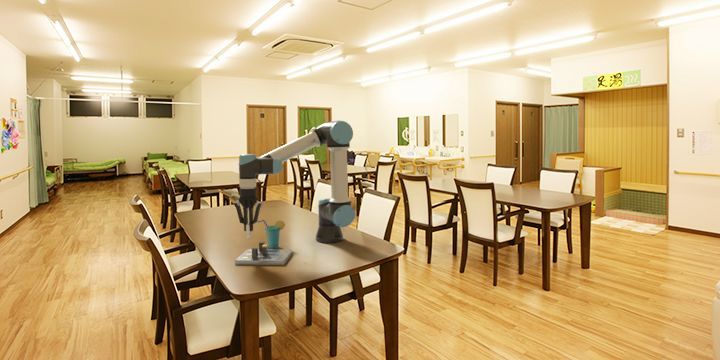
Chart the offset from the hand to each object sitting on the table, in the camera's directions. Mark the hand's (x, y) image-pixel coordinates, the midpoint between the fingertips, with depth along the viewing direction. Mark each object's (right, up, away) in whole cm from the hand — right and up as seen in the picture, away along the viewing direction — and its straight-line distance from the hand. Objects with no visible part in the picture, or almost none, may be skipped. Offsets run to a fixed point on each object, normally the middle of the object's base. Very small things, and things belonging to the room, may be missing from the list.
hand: (248, 237), depth 185 cm
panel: (+7, -10, +1) cm, 12 cm away
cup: (+6, -8, +20) cm, 22 cm away
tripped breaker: (+7, -7, +1) cm, 10 cm away
